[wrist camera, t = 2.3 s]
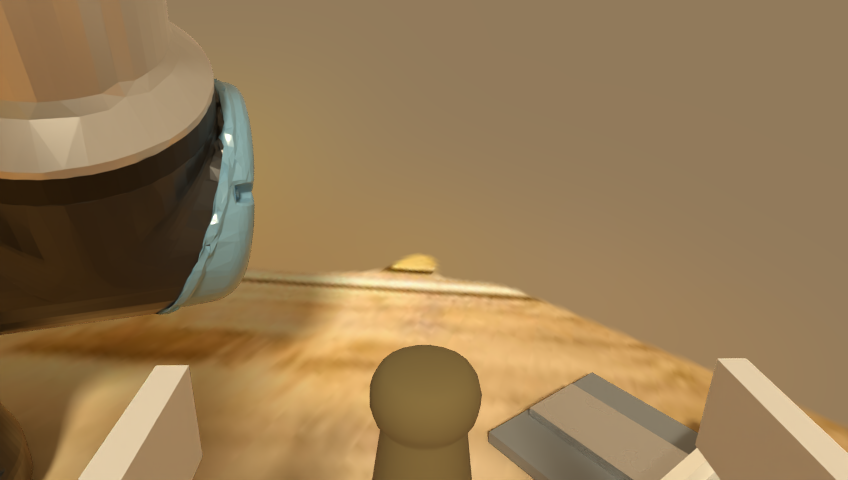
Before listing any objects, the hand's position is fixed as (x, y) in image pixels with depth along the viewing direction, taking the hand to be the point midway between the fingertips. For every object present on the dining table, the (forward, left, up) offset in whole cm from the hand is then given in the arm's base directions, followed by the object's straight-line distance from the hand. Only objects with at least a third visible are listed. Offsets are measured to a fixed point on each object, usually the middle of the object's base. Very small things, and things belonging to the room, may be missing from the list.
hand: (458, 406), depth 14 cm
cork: (-8, +6, -17) cm, 19 cm away
